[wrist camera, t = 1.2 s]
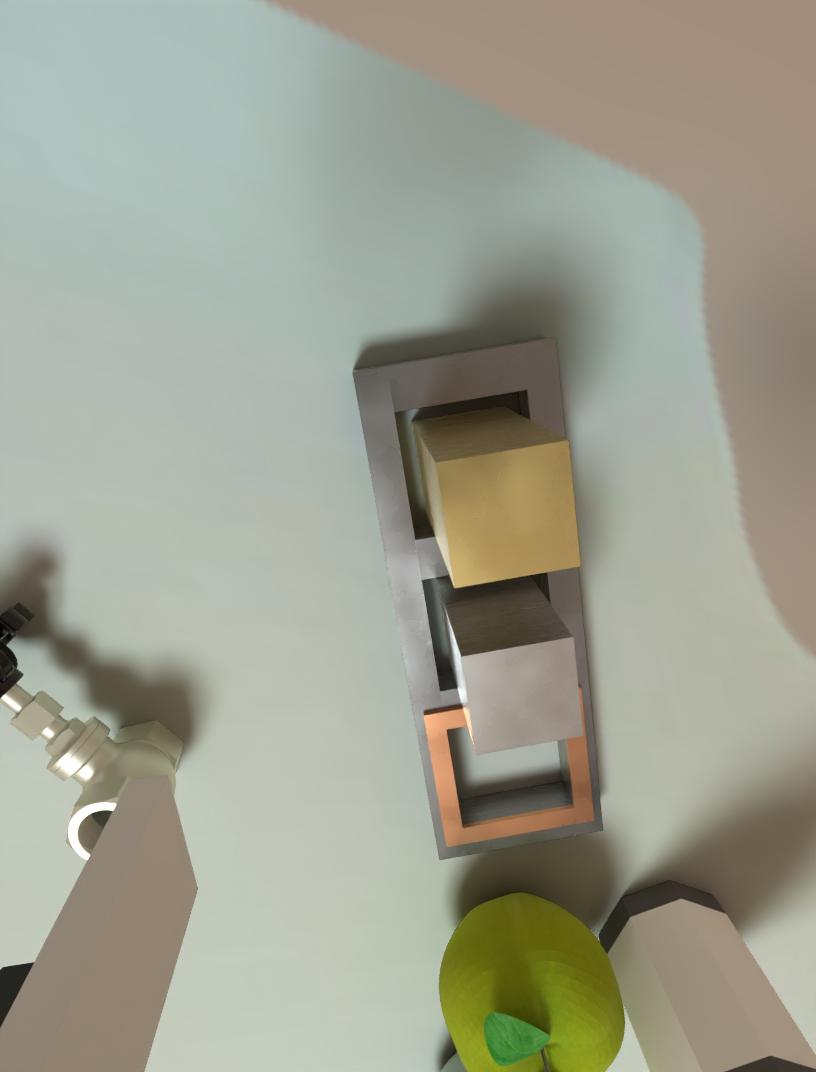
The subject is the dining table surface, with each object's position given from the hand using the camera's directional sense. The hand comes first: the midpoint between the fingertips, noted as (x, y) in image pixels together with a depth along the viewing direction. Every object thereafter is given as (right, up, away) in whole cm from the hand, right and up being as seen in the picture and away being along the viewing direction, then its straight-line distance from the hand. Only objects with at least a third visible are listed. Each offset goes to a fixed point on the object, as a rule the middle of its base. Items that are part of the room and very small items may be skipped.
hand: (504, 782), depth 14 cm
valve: (-18, -4, +23) cm, 29 cm away
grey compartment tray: (+2, +1, +22) cm, 22 cm away
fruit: (+4, -18, +28) cm, 34 cm away
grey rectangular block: (+2, +1, +22) cm, 22 cm away
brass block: (+1, +9, +20) cm, 22 cm away
